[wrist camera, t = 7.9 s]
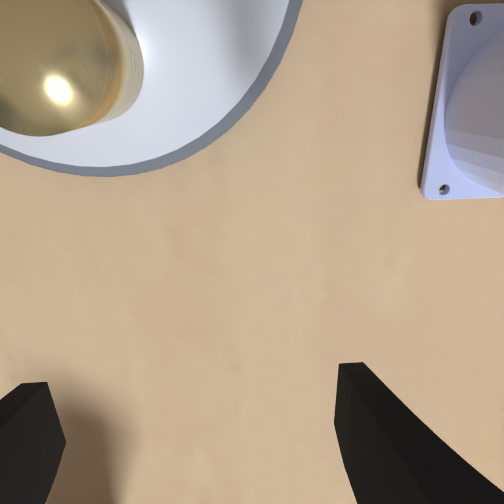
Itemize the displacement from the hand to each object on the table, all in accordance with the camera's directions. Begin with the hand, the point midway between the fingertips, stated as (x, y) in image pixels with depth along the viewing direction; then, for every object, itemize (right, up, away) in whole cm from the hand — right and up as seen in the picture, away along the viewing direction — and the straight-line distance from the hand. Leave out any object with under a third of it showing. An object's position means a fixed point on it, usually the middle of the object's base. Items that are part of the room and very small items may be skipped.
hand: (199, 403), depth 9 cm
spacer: (-5, +10, +4) cm, 12 cm away
